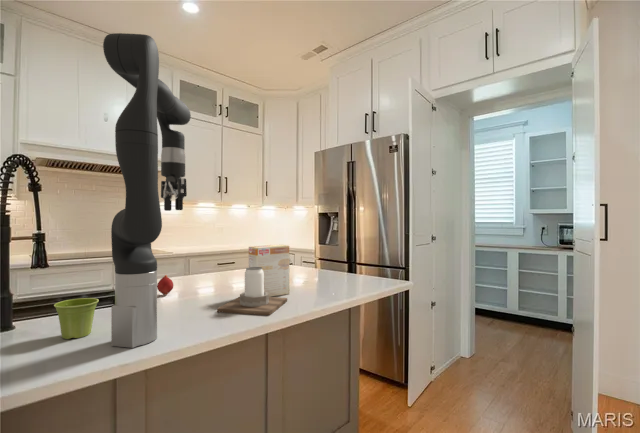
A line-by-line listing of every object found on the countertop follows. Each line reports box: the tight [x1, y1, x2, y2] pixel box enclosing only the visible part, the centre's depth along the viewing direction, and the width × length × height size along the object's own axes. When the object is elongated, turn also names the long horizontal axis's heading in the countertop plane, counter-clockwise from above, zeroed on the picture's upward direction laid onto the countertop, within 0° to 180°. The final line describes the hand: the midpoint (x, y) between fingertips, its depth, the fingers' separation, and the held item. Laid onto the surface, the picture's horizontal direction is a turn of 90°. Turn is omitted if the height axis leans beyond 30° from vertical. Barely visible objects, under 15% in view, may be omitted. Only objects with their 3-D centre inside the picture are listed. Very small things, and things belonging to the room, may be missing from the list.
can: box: [244, 266, 264, 297], centre depth 115 cm, size 6×6×12 cm
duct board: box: [216, 291, 288, 316], centre depth 115 cm, size 18×18×4 cm
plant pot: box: [53, 297, 99, 340], centre depth 87 cm, size 9×9×9 cm
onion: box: [157, 274, 174, 296], centre depth 131 cm, size 6×6×8 cm
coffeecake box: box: [248, 244, 290, 297], centre depth 132 cm, size 15×7×20 cm, turn 126°
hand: (173, 210), depth 112 cm, fingers open, 8 cm apart
